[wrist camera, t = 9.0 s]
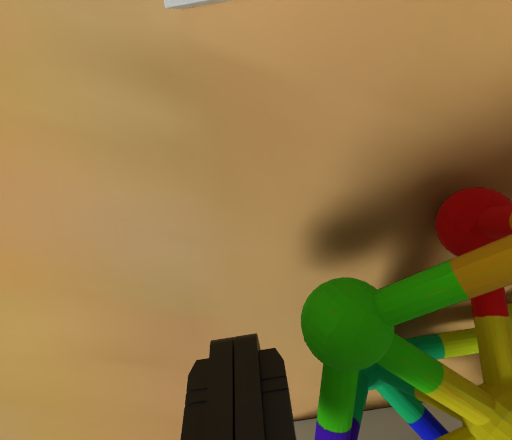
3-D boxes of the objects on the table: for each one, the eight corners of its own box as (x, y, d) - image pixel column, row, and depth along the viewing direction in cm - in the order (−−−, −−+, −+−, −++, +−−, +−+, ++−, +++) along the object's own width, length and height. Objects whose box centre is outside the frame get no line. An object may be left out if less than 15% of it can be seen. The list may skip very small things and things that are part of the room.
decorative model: (801, 288, 12) (520, 618, 14) (528, 198, 20) (368, 425, 22) (813, 30, 5) (259, 749, 7) (381, 40, 13) (164, 397, 15)
